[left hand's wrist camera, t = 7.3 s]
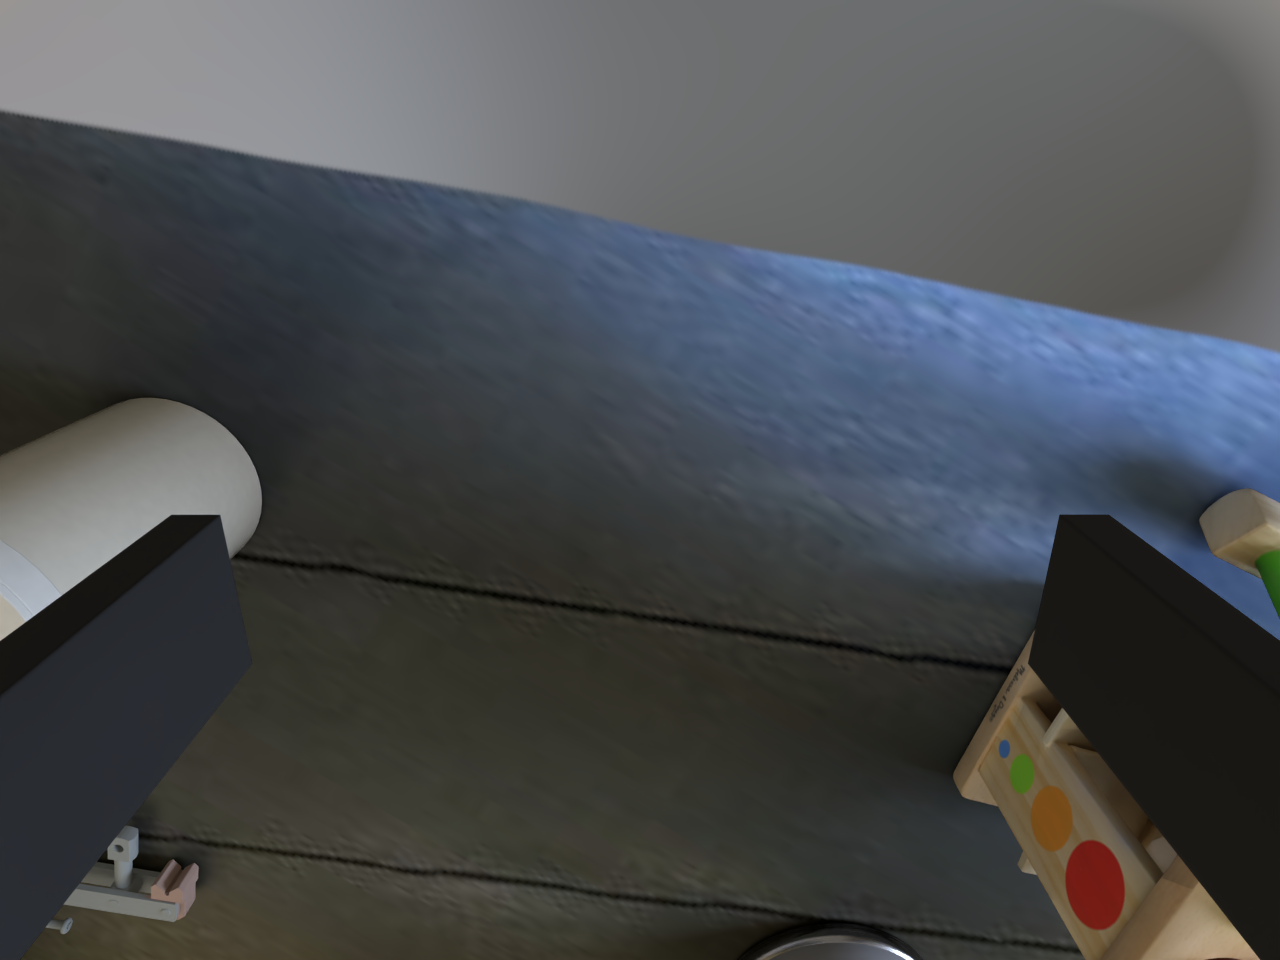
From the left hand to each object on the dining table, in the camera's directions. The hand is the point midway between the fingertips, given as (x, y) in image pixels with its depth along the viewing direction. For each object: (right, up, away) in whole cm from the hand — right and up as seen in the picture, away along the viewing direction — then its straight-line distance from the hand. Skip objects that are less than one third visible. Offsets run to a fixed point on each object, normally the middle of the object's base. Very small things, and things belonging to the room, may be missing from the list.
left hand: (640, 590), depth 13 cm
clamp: (-37, -24, +39) cm, 59 cm away
